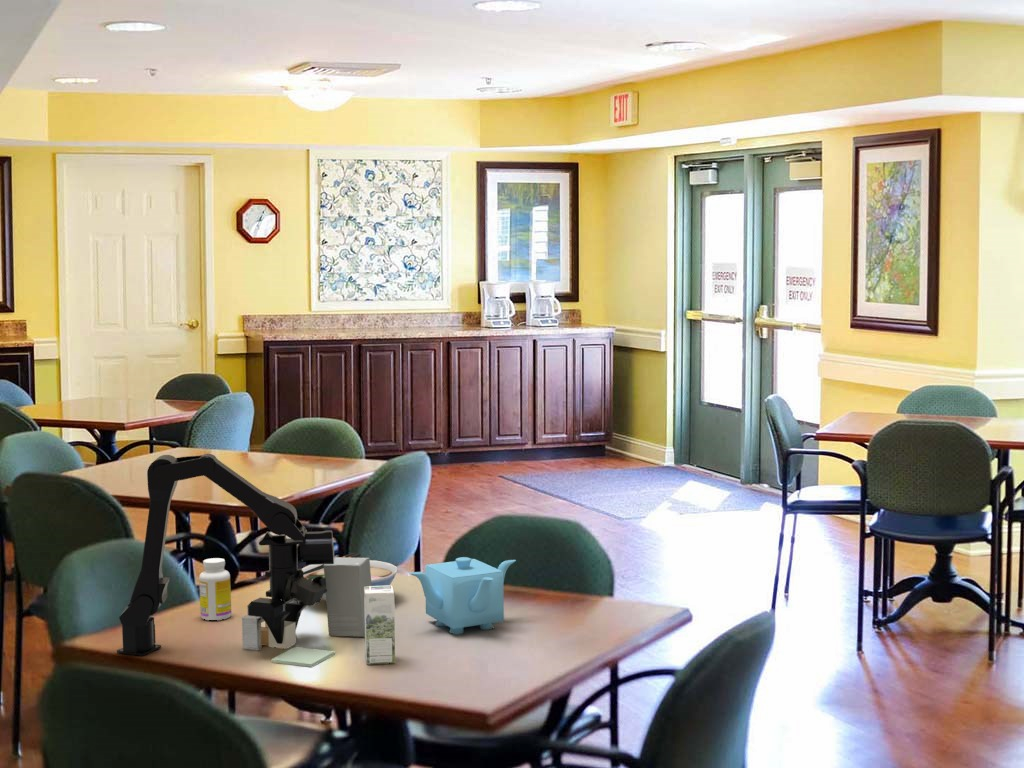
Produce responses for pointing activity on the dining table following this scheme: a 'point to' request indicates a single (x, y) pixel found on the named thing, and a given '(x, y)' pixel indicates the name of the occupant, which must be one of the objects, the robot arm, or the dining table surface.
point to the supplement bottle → (215, 590)
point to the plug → (288, 636)
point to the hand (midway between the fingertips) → (285, 640)
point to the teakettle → (464, 593)
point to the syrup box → (379, 624)
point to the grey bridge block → (252, 632)
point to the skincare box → (346, 595)
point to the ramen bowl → (379, 571)
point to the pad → (303, 656)
